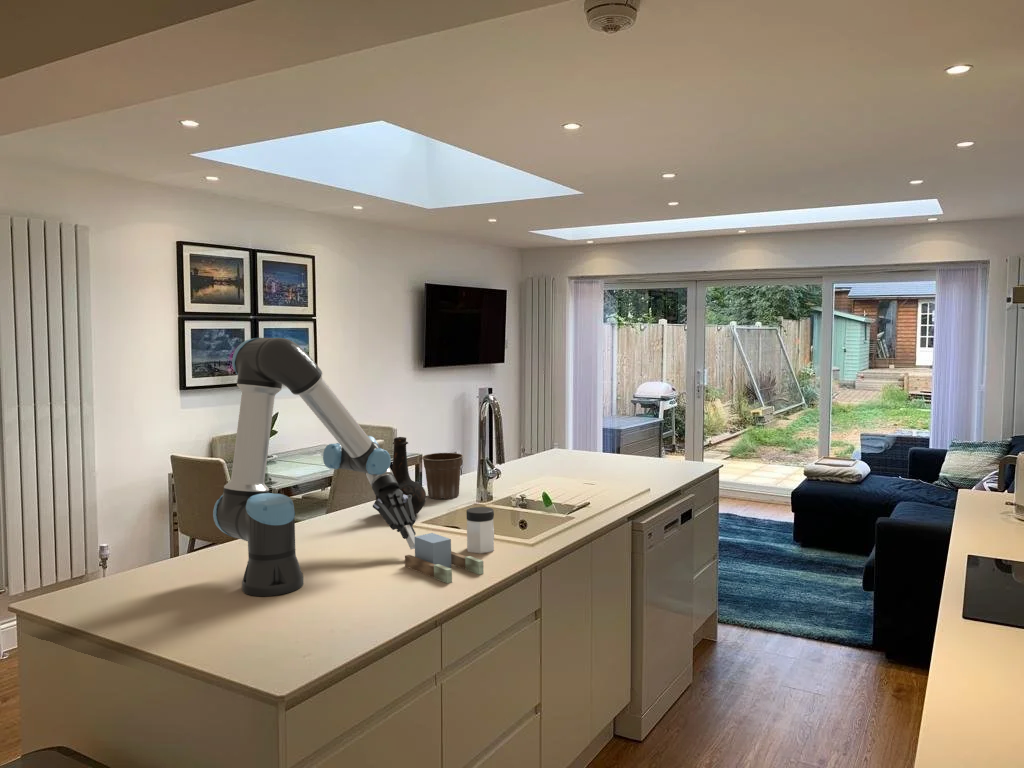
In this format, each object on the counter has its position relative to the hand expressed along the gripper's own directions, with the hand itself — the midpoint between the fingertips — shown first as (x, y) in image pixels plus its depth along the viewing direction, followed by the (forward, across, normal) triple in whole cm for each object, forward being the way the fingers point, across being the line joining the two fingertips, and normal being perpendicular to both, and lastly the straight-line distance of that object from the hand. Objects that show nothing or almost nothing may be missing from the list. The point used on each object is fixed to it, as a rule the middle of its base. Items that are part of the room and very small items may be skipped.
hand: (414, 546), depth 221 cm
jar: (+7, -20, +2) cm, 21 cm away
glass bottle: (-30, -25, -36) cm, 53 cm away
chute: (+13, 0, +8) cm, 15 cm away
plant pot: (-41, -55, -46) cm, 83 cm away
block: (+9, 0, +4) cm, 10 cm away
